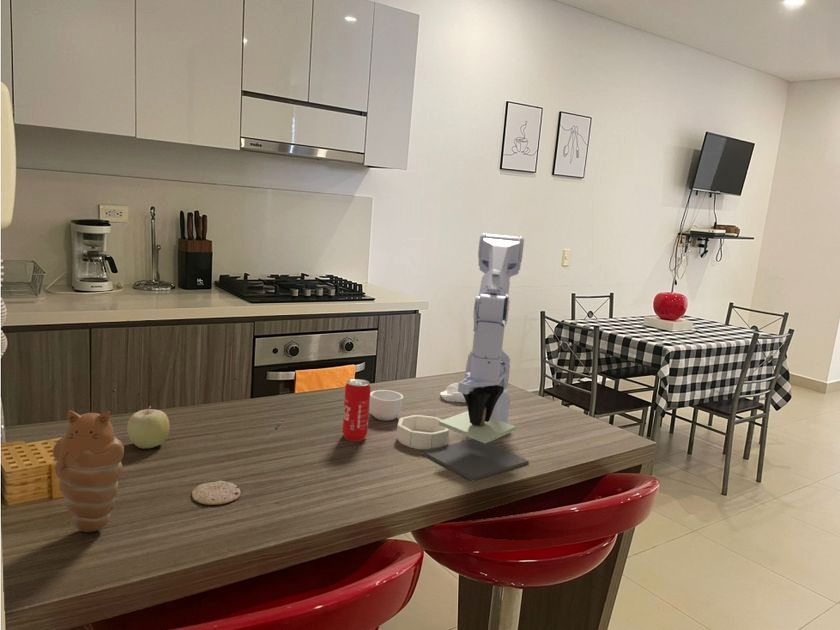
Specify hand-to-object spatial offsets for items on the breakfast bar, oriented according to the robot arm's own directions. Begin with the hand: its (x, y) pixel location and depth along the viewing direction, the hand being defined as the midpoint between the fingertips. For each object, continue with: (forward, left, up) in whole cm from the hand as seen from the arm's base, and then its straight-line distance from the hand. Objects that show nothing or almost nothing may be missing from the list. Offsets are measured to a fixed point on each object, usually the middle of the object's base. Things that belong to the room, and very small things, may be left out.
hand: (479, 422), depth 125 cm
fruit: (+52, -36, -8) cm, 64 cm away
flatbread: (+49, -11, -8) cm, 51 cm away
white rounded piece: (-24, -31, -8) cm, 40 cm away
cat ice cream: (+68, -9, -8) cm, 69 cm away
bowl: (+3, -13, -8) cm, 16 cm away
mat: (0, 0, -8) cm, 8 cm away
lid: (0, 0, -1) cm, 1 cm away
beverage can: (+15, -21, -8) cm, 27 cm away
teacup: (+2, -29, -8) cm, 30 cm away
